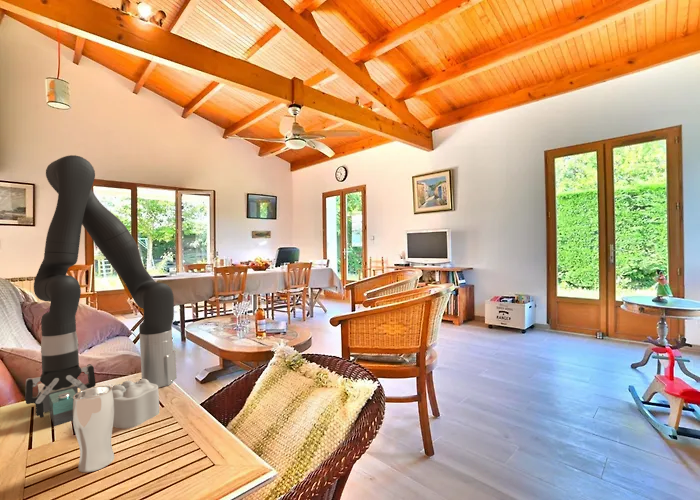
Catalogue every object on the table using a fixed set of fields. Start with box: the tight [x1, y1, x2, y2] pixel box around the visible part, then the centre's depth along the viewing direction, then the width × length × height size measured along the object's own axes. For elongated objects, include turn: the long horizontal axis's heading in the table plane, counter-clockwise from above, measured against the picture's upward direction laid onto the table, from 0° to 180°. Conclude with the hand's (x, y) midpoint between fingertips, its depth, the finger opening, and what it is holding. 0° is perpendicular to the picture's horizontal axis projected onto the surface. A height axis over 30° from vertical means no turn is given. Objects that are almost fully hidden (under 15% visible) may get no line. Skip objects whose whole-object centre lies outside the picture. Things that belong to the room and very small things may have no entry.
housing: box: [49, 388, 76, 427], centre depth 92 cm, size 5×8×7 cm, turn 46°
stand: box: [37, 382, 79, 413], centre depth 100 cm, size 8×8×6 cm
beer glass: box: [72, 385, 115, 474], centre depth 72 cm, size 7×7×15 cm
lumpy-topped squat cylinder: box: [111, 378, 160, 430], centre depth 91 cm, size 10×13×9 cm
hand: (62, 410), depth 92 cm, fingers open, 8 cm apart
